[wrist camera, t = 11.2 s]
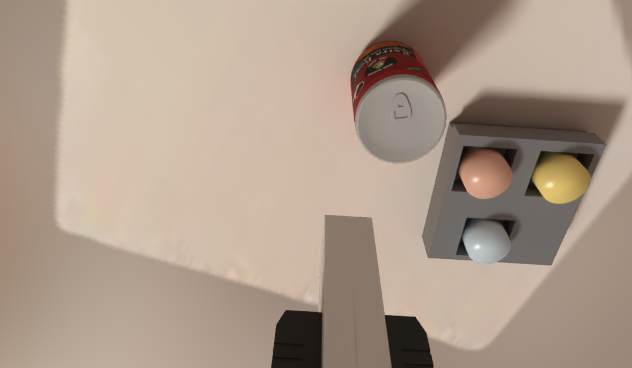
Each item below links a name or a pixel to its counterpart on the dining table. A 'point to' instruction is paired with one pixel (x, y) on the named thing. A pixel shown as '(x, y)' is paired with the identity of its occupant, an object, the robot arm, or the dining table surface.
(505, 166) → the salmon pink rounded dome
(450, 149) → the button panel
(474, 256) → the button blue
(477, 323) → the dining table surface
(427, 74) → the canned food
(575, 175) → the button mustard
